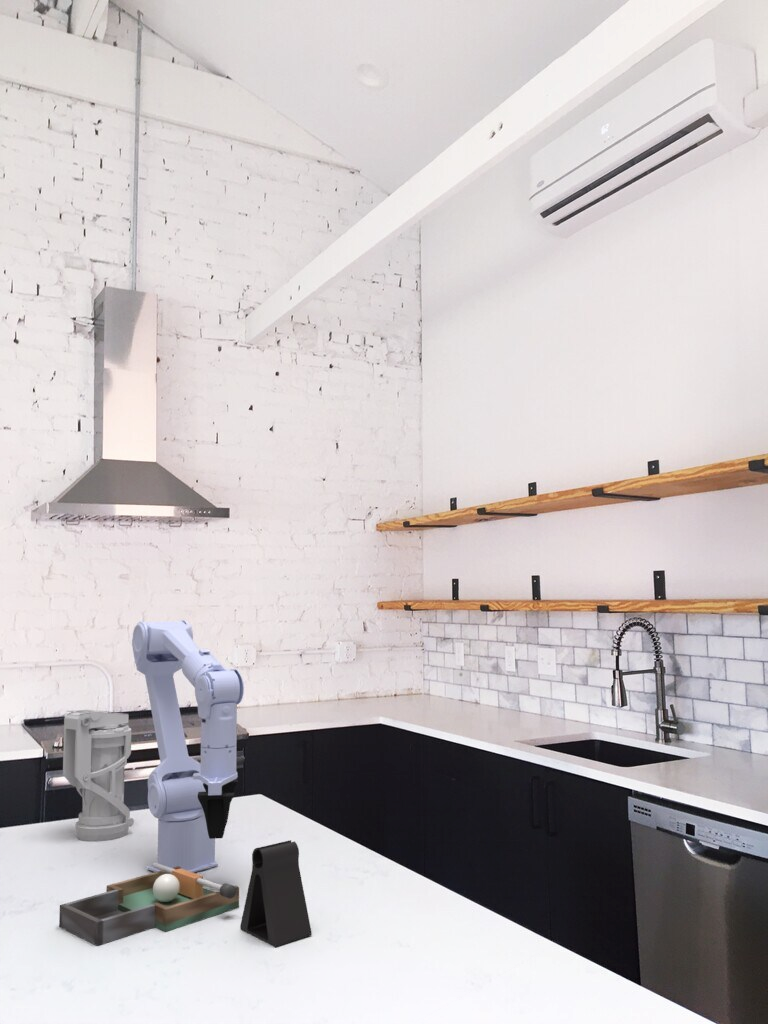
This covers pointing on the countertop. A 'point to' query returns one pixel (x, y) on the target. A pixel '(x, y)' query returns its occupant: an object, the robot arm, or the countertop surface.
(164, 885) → the ball
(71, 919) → the pitch
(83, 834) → the lantern
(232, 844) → the countertop surface
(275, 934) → the phone stand
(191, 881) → the kicker
